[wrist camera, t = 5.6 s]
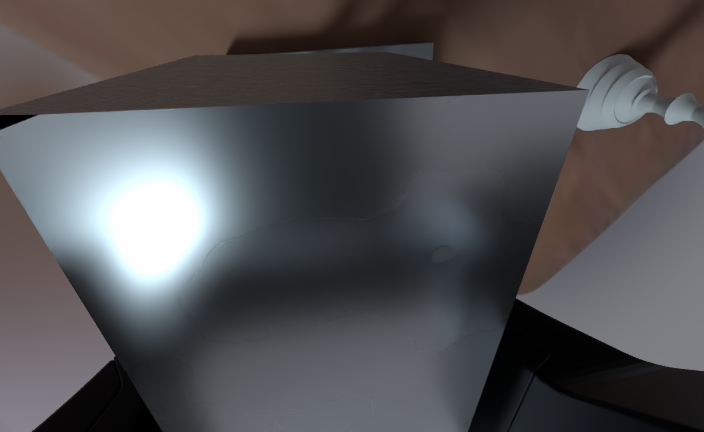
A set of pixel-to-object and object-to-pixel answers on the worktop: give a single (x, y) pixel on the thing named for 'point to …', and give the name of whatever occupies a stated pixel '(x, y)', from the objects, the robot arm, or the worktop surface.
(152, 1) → the worktop surface
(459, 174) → the block
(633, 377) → the robot arm
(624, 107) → the chalice
